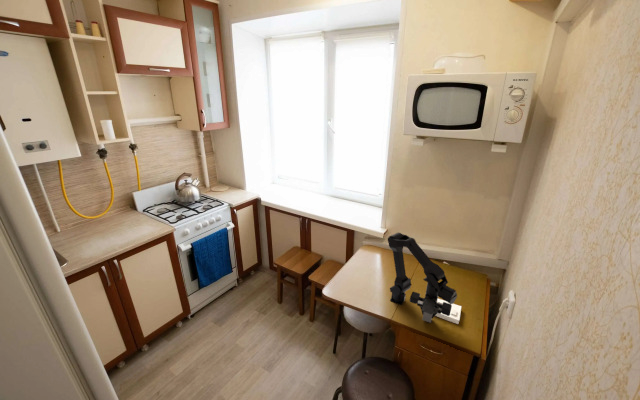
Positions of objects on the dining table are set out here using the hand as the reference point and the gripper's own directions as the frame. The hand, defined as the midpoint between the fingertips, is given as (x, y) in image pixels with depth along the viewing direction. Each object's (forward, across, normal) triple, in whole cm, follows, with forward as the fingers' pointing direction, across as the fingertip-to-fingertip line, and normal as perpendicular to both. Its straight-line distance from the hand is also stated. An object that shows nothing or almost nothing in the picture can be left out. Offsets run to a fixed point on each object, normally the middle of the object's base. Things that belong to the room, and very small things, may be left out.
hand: (427, 316), depth 138 cm
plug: (+2, 0, 0) cm, 2 cm away
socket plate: (+2, +7, +10) cm, 13 cm away
